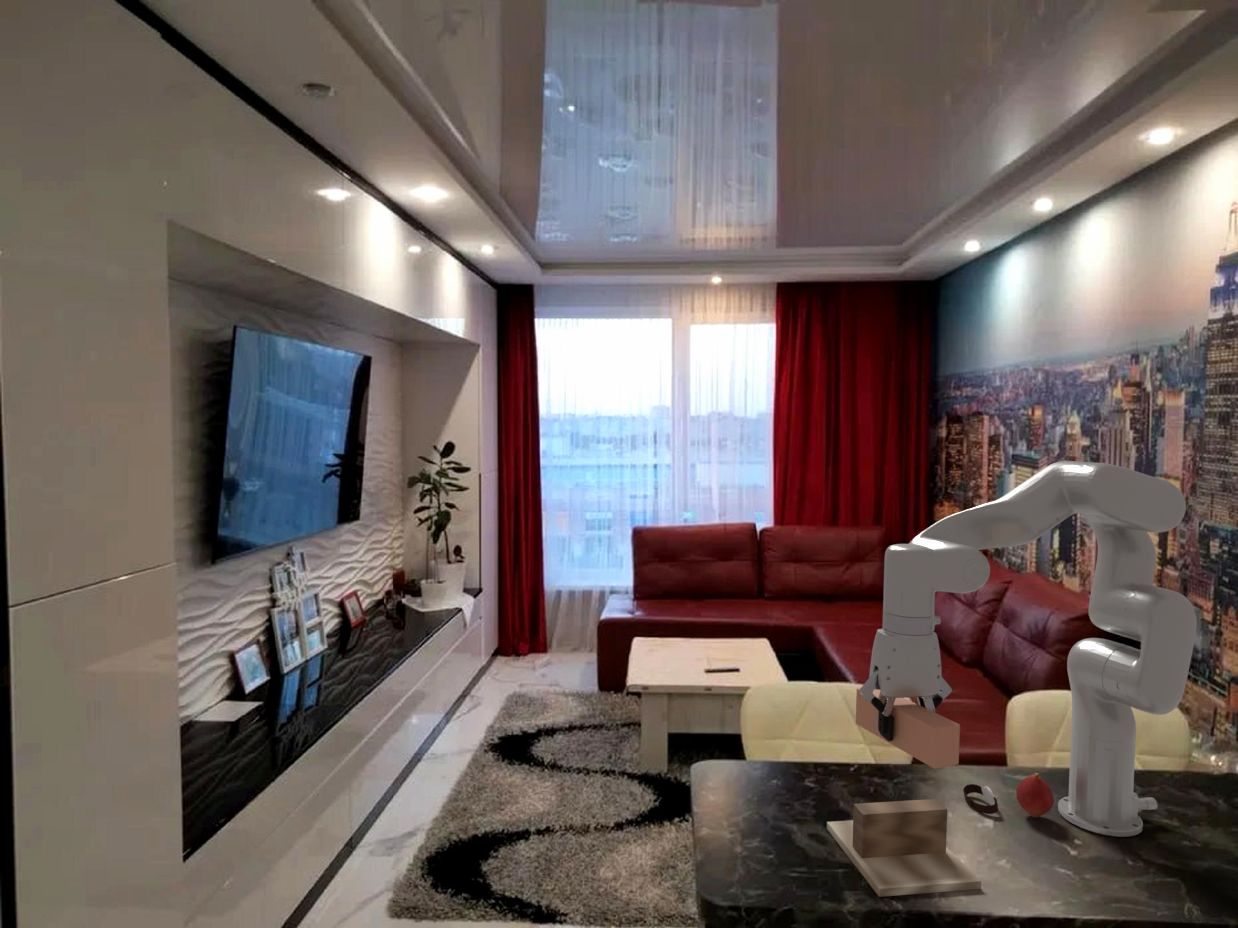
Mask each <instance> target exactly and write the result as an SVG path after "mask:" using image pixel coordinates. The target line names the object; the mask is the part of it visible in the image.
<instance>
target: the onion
mask: <svg viewBox="0 0 1238 928" xmlns="http://www.w3.org/2000/svg"><path fill="white" fill-rule="evenodd" d="M1015 790H1016V791H1015V796H1016V800H1017V802H1018V803H1019V806H1020V807H1021V808H1022V810H1024V811H1025V812H1026V813H1028V814H1029V815H1030V817H1032V818H1034V819H1038V818H1040V817H1041V816H1043V815H1045V814H1047V813H1048V812H1049V811H1051V809H1053V807H1054V804H1055V801H1054V800H1055V797H1054V794H1053V791H1052V789H1051V787H1050V786H1049V784H1047V783H1046V782H1045V781H1044V780H1043V779H1041V777H1040V773H1038V772H1037V773H1036V772H1034V773H1033V774H1032V775H1030V776H1027V777H1025V778H1024V779H1022V780H1021V781H1020V782H1019V784H1018V786H1017V787H1016V789H1015Z"/></svg>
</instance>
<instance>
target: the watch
mask: <svg viewBox="0 0 1238 928" xmlns="http://www.w3.org/2000/svg"><path fill="white" fill-rule="evenodd" d="M962 792H963V795H964V800H965V802H966V804H967V805H968V806H969V807H970V808H973V809H974V810H976V812H977V811H978V812H980V813H982V814H987V815H990V814H991V815H993V814H996V813H998V811H999V805H998V803H999V802H998V799H997V798H996V796H995V793H994V792H993V791H992V789H991V788H990V787H989V786H988V785H985V786H983V787H982V786H980V785H978V784H974V783H971V784H966V785H965V786H964V787H963V790H962ZM973 793H975V794H979V795H982V796H983V797H984V798H985V801H986V802H987V803H988V805H986V804H985V805H984V804H981V803H978V802H975V800H973V799H971V798H970V797H969V796H968V794H969V795H970V794H973Z"/></svg>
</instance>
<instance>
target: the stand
mask: <svg viewBox="0 0 1238 928" xmlns="http://www.w3.org/2000/svg"><path fill="white" fill-rule="evenodd" d="M852 811H853V815H852V816H853V818H852V819H851V820H849V819H848V820H836V821H826V830H827V832H829V834H830V835H831V836H832V837H833V839H834V840H835V841H836V843H837V844H838V845H839V846H840V848H841V849H842V850H843V852H844V853H845V855H846V856H847V857H848V858H849V859H850V861H851V863H853V865H854V866H855V868H856V869H857V870H858V872H859V873H860V874H861V875H862V877H864V879H865V880H866V881H867V883H868V884H869V886H870V887H871V889H873V891H874V892H875V893H876V895H877V896H878V898H880V897H881V898H882V897H892V896H905V895H908V896H909V895H918V894H932V893H933V894H934V893H944V892H957V891H960V892H961V891H970V890H971V891H972V890H981V889H982V880H981V879H980V878H979V877H978V876H977V875H976V874H975V873H974V872H973V871H972V870H971V869H970V868H969V867H968V866H967V865H966V864H965V863H964V862H963V861H962V860H961V859H960V858H959V857H957V855H955V854H954V852H953V851H951V849H949V848H948V847H947V833H948V832H947V831H948V826H947V825H948V808H946V807H945V806H944V805H943V804H942V803H941V802H940V801H939V800H938V799H936V798H926V799H912V800H909V799H908V800H898V801H897V800H896V801H881V802H880V801H879V802H878V801H877V802H863V803H861V802H859V803H853V810H852Z"/></svg>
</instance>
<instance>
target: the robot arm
mask: <svg viewBox="0 0 1238 928" xmlns="http://www.w3.org/2000/svg"><path fill="white" fill-rule="evenodd" d="M1186 509H1187V504H1186V499H1185V497H1184V494H1183V493H1182V491H1181V490H1180V489H1179V488H1178V487H1177V486H1176V485H1175V484H1174V483H1172V482H1170V481H1167V480H1165V479H1162V478H1158V477H1156V476H1152V475H1149V474H1146V473H1143V472H1140V471H1137V470H1133V469H1131V468H1128V467H1124V466H1120V465H1117V464H1111V463H1107V462H1091V461H1090V462H1089V461H1076V460H1074V461H1073V460H1062V461H1057V462H1053V463H1051V464H1049V465H1047V466H1045V467H1044V468H1042V469H1041V470H1039V471H1038V472H1036V473H1035V474H1034V475H1032V476H1030V477H1029V478H1028V479H1026V480H1024V481H1023V482H1022V483H1020V484H1018V485H1017V486H1015V488H1012V490H1011V489H1010V490H1009V491H1008V492H1007V493H1005V494H1004V495H1002V496H1001V497H1000V498H997V499H996V500H993V501H989V502H986V503H983V504H980V505H978V506H977V505H976V506H974V507H972V508H968V509H965V510H963V511H960V512H956V513H953V514H951V515H948V516H946V517H944V518H942V519H940V520H939V521H936V522H935V523H933V524H932V525H930V526H929V527H927V528H926V529H924V530H923V531H921V532H920V533H919V534H918V535H916V536H915V537H913V538H912V540H910V542H909V543H896V544H892V545H889V546H888V547H887V548H886V550H885V553H884V563H883V565H884V566H883V567H884V569H883V601H882V602H883V603H882V605H883V606H882V628H877V630H876V634H875V636H874V640H873V645H872V651H871V658H870V666H869V675H868V679H867V680H866V681H865V683H863V685H862V686H861V687H859V688H860V690H859V692H860V694H862V695H863V696H864V697H865V698H866V699H867V700H868V701H869V702H870V703H871V704H872V705H873V706H874V707H875V708H876V709H877V710H878V711H879V716H878V730H879V732H880V735H881V736H883V737H884V738H885V739H886V740H887V741H892V740H893V733H894V717H893V716H892V715H891V711H892V708H893V705H894V702H895V699H896V698H905V699H909V698H916V699H917V702H918V703H917V704H918V705H920V706H922V707H924V708H926V709H928V710H930V711H932V712H934V713H936V709H937V708H938V706H940V705H941V703H942V702H943V700H945V699H946V698H947V697H948V696H949V695H950V694H951V693H952V691H953V689H952V687H951V686H950V685H949V684H948V682H947V681H946V680H945V678H943V676H942V661H941V660H942V659H941V656H942V655H941V649H940V643H939V638H938V634H937V633H936V632H935V629H936V628H935V627H936V625H941V623H942V619H941V616H940V615H936V613H935V605H936V603H935V601H936V600H935V599H936V593H937V592H943V593H945V592H946V593H954V594H955V593H956V594H969V593H972V592H975V591H978V590H980V589H981V588H982V587H984V586H985V584H986V583H987V582H988V581H989V578H990V574H991V566H990V562H989V561H988V558H987V557H986V555H985V554H983V552H982V551H981V550H986V549H998V548H999V549H1000V548H1011V547H1017V546H1023V545H1028V544H1031V543H1033V542H1035V541H1037V540H1038V539H1040V538H1041V537H1042V536H1044V535H1046V533H1048V532H1050V530H1052V529H1054V528H1055V527H1056V526H1057V525H1059V524H1060V523H1062V522H1063V521H1065V520H1066V519H1068V518H1070V516H1072V515H1074V514H1075V515H1076V514H1081V516H1082V517H1083V518H1084V520H1085V521H1086V522H1087V523H1088V525H1089V527H1090V528H1091V530H1092V531H1093V533H1094V536H1095V539H1096V544H1097V559H1096V564H1095V570H1094V575H1093V579H1092V580H1093V581H1092V586H1091V590H1090V591H1091V592H1090V597H1089V602H1088V616H1089V617H1088V618H1089V619H1090V621H1091V623H1092V624H1093V625H1094V626H1096V627H1097V628H1099V629H1101V630H1103V631H1106V632H1108V633H1112V634H1114V635H1119V636H1121V637H1125V638H1127V639H1130V640H1134V641H1138V642H1140V643H1141V644H1140V649H1138V648H1135V647H1134V646H1130V645H1126V644H1124V643H1119V642H1117V641H1114V640H1110V639H1105V638H1099V637H1089V638H1087V637H1086V638H1083V639H1081V640H1079V641H1077V642H1076V643H1074V645H1073V646H1072V647H1071V649H1070V650H1069V653H1068V655H1067V661H1066V666H1067V667H1066V669H1067V675H1068V676H1067V677H1068V681H1069V687H1070V692H1071V706H1072V707H1071V729H1070V748H1069V749H1070V750H1069V751H1070V752H1069V753H1070V755H1069V756H1070V757H1069V774H1068V775H1069V776H1068V777H1069V778H1068V795H1067V796H1064V797H1062V798H1061V799H1059V801H1058V804H1057V810H1058V813H1059V814H1060V815H1061V816H1062V817H1063V819H1065V820H1066V821H1068V822H1070V823H1071V824H1073V825H1074V826H1077V827H1079V828H1080V829H1084V830H1087V831H1089V832H1092V833H1095V834H1099V835H1103V836H1110V837H1118V838H1119V837H1120V838H1125V837H1135V836H1136V835H1137V836H1138V835H1139V834H1140V833H1142V831H1143V827H1144V823H1143V819H1142V818H1141V817H1140V816H1139V815H1138V814H1139V813H1141V812H1142V811H1143V810H1146V811H1147V810H1148V811H1149V810H1157V808H1158V801H1157V800H1156V798H1154V797H1141V798H1139V795H1138V794H1137V792H1134V782H1135V779H1134V778H1135V763H1136V762H1135V760H1136V741H1137V723H1136V718H1135V715H1134V711H1133V709H1132V708H1134V709H1136V710H1138V711H1141V712H1144V713H1146V714H1147V713H1148V714H1149V715H1150V714H1151V715H1155V716H1157V715H1159V716H1160V715H1161V716H1163V715H1167V714H1169V713H1171V712H1173V711H1174V710H1175V709H1176V708H1177V707H1178V706H1179V704H1180V703H1181V701H1182V698H1183V696H1184V693H1185V689H1186V686H1187V680H1188V676H1189V669H1190V666H1191V661H1192V655H1193V651H1194V650H1193V649H1194V645H1195V639H1196V633H1197V626H1198V625H1197V624H1198V622H1197V615H1196V612H1195V609H1194V606H1193V605H1192V603H1191V601H1190V600H1189V599H1188V598H1187V597H1186V596H1185V595H1183V594H1181V593H1180V592H1178V591H1175V590H1172V589H1168V588H1164V587H1160V586H1154V581H1155V580H1154V579H1155V577H1154V576H1155V569H1156V564H1157V552H1156V548H1155V544H1154V542H1153V540H1152V538H1151V535H1150V534H1149V533H1158V534H1159V533H1165V532H1169V531H1172V530H1173V529H1174V528H1176V527H1178V526H1179V524H1180V523H1181V522H1182V521H1183V519H1184V516H1185V514H1186V511H1187V510H1186ZM1148 532H1149V533H1148ZM874 689H876V690H880V694H879V697H878V698H877V697H876V696H875V695H874V694H873V691H874ZM887 741H886V742H887Z"/></svg>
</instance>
